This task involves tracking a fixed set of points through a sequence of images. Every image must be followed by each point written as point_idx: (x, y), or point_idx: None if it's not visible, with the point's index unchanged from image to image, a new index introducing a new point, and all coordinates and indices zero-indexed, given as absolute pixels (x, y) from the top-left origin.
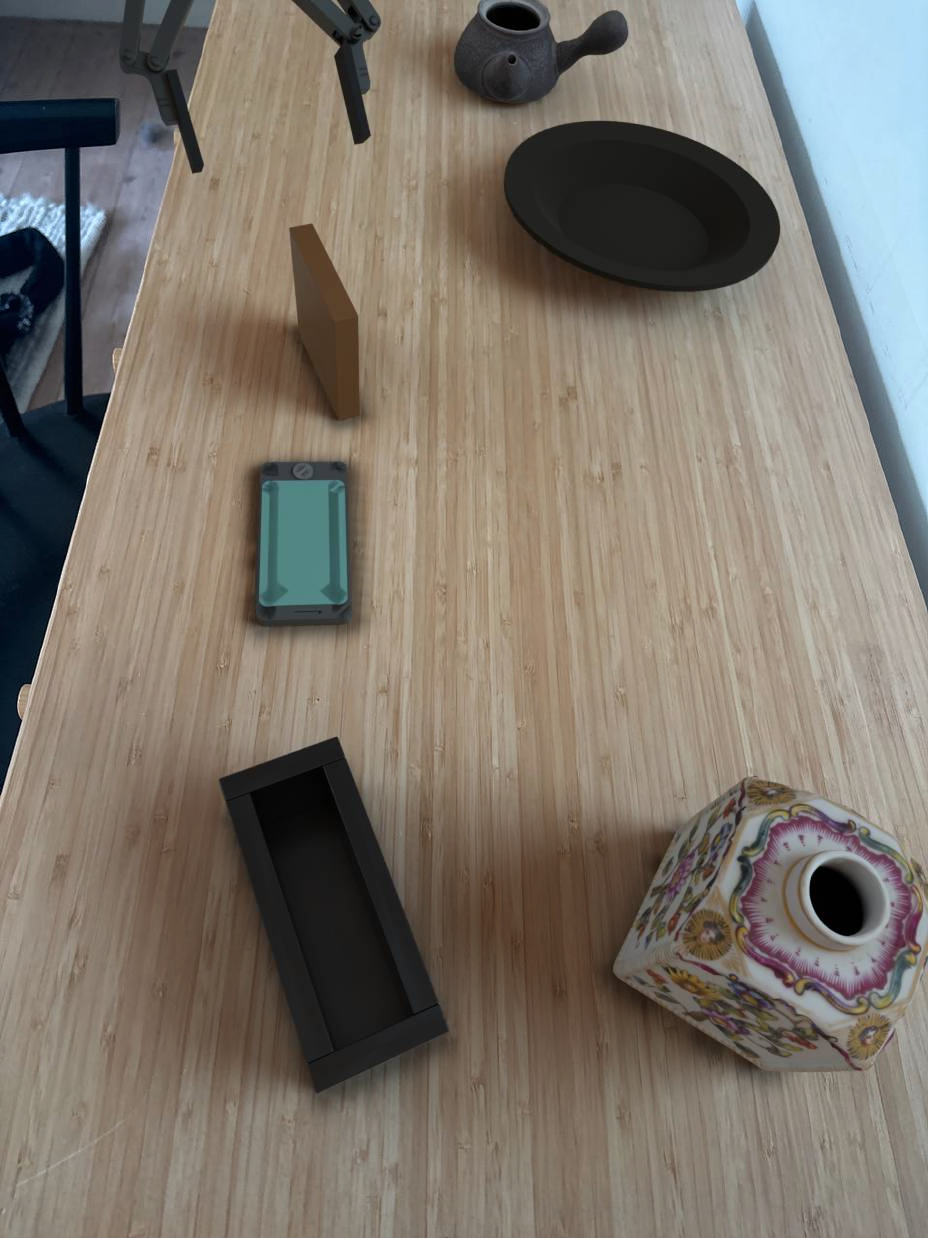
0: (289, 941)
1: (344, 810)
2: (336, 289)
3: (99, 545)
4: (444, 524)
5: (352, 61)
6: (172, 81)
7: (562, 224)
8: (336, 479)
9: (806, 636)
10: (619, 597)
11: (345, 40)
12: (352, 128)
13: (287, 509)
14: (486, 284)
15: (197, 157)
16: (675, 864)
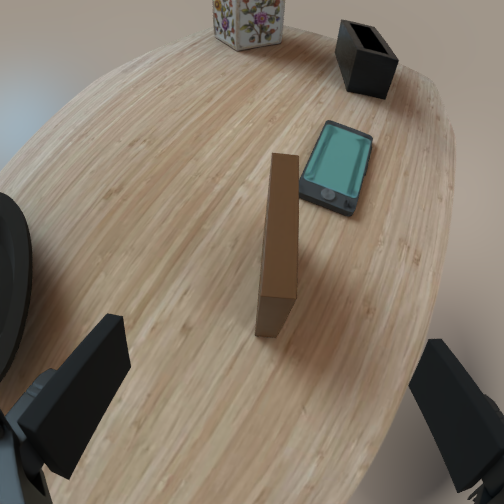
0: (378, 37)
1: (359, 41)
2: (279, 185)
3: (443, 213)
4: (250, 144)
5: (40, 396)
6: (502, 428)
7: (4, 323)
8: (307, 182)
9: (138, 76)
10: (190, 96)
11: (23, 452)
12: (120, 373)
13: (345, 176)
14: (82, 317)
15: (439, 346)
16: (253, 31)
